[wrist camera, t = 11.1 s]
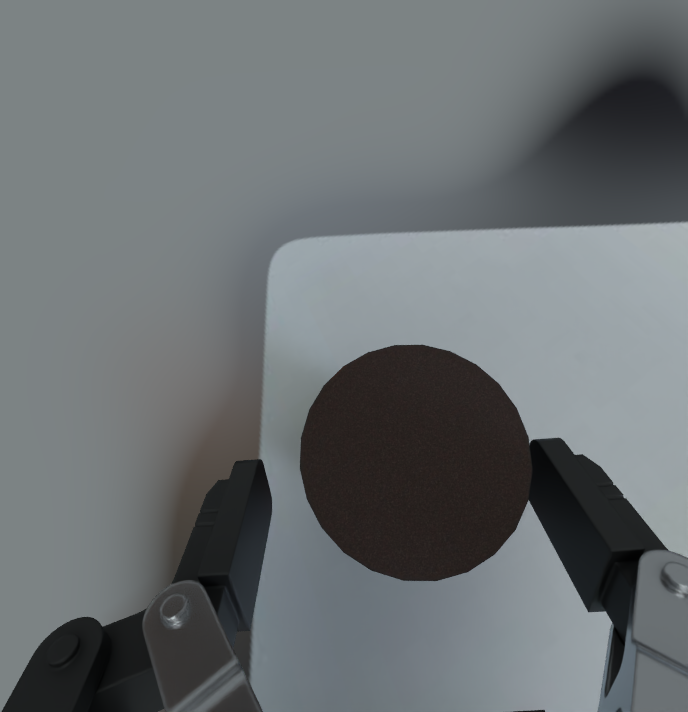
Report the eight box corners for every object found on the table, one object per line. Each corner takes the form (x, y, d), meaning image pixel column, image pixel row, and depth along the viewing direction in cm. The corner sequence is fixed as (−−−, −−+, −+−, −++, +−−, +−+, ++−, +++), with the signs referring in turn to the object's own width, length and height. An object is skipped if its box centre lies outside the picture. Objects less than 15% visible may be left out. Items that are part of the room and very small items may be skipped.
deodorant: (345, 411, 26) (317, 333, 11) (437, 422, 25) (532, 356, 11) (332, 507, 24) (281, 560, 10) (430, 521, 23) (532, 601, 9)
